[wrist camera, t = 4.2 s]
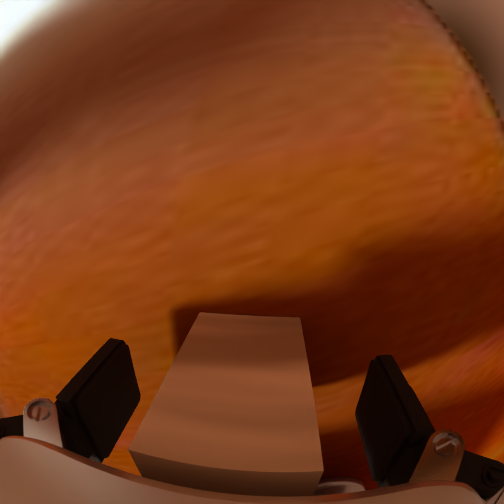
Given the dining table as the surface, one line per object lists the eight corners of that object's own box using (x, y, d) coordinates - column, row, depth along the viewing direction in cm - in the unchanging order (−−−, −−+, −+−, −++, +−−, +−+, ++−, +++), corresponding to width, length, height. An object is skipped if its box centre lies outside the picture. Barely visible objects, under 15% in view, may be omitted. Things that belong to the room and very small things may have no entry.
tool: (199, 312, 11) (128, 449, 4) (300, 317, 11) (324, 470, 4) (221, 509, 16) (210, 571, 9) (268, 512, 16) (265, 576, 9)
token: (290, 476, 14) (291, 489, 13) (373, 468, 14) (376, 481, 13) (282, 505, 16) (281, 516, 15) (351, 500, 16) (353, 511, 14)
